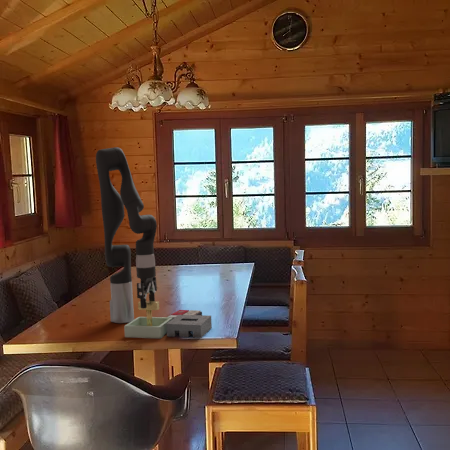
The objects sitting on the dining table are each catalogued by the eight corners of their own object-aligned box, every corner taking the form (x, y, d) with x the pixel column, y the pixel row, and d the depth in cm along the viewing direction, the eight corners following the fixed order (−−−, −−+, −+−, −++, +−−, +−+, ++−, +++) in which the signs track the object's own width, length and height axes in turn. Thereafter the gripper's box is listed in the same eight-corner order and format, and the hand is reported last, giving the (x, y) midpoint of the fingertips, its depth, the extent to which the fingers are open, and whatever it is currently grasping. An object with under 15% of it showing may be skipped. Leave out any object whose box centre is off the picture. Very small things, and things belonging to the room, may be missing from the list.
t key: (160, 330, 231) (158, 301, 230) (158, 332, 229) (156, 302, 228) (141, 330, 233) (140, 300, 232) (139, 331, 231) (137, 302, 230)
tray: (124, 337, 227) (124, 325, 226) (139, 327, 240) (138, 316, 240) (160, 338, 223) (159, 327, 222) (173, 328, 236) (172, 317, 236)
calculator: (202, 309, 252) (190, 316, 237) (202, 319, 252) (190, 327, 238) (178, 309, 255) (165, 316, 241) (178, 318, 255) (165, 326, 241)
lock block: (167, 336, 225) (166, 323, 225) (179, 326, 239) (178, 314, 238) (201, 337, 221) (200, 325, 221) (211, 327, 235) (211, 315, 234)
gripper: (147, 268, 221) (149, 310, 222) (161, 262, 234) (163, 301, 236) (129, 268, 223) (131, 309, 224) (144, 262, 237) (146, 301, 238)
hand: (148, 305), depth 230 cm, fingers open, 8 cm apart
